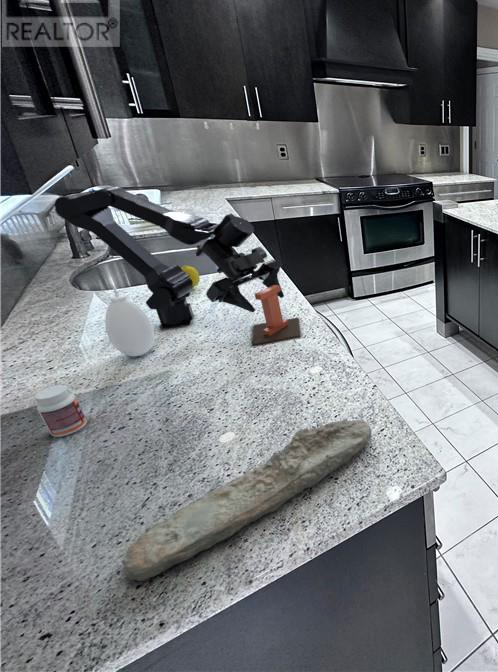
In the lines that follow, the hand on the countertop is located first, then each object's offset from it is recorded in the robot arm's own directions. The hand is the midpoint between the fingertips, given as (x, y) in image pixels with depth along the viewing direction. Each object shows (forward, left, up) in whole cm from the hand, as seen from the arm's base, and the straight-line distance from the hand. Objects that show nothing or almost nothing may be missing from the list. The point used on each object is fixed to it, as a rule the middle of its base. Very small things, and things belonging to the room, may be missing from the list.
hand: (269, 303), depth 106 cm
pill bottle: (-34, -24, -8) cm, 42 cm away
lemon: (-24, +41, -8) cm, 48 cm away
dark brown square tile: (0, 0, -8) cm, 8 cm away
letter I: (0, 0, -8) cm, 8 cm away
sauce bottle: (-29, +1, -8) cm, 30 cm away
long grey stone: (-1, -56, -8) cm, 56 cm away
